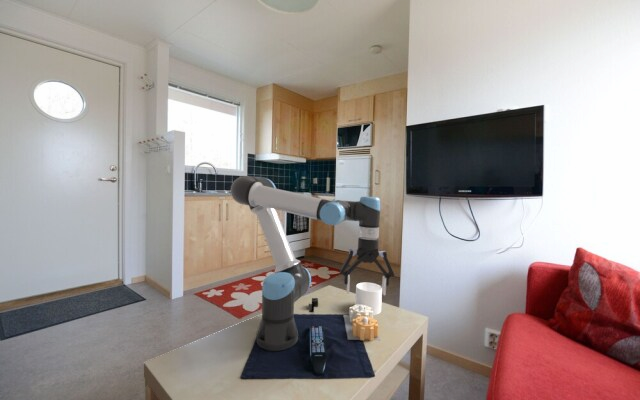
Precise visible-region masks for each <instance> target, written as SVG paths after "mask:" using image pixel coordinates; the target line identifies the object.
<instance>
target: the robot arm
mask: <svg viewBox="0 0 640 400" xmlns="http://www.w3.org/2000/svg"><path fill="white" fill-rule="evenodd" d="M230 195H231V197H232V199H233V200H234V201H235V202H236V203H237V204H240V205H243V206H244V205H245V206H248V207H249V210H250V212H251V213H253V214H255V215H256V218H257V220H258V223H259V225H260V228H261V231H262V232H263V235H264V239H265V241H266V243H267V244H266V245H267V246H268V249H269V251H270V255H271V257H272V259H273V262H274V264H275V269H274V271H273V272H274V273H271V274H269V275H267V276H266V277H265V278H264V279H263V281H262V287H261V297H262V298H261V302H262V303H261V321H260V324H259V327H258V329H257V333H256V343H257V345H258V346H259V347H260V348H261V349H264V350H265V351H271V352H279V351H285V350H287V349H290V348H292V347H293V346H295V345H296V344H297V342H298V341H299V340H298V339H299V332H298V327H297V324H296V322H295V317H294V315H295V312H294V311H295V303H296V302H297V301H298V300H299V299H300V298H301V297H302V296H304V295H305V294H306V293H307V291H309V288H310V287H311V283H312V276H311V274H310V271H309V270H308V269H307V268H306V267H304V265H302V262H301V260H299V259H297V258H296V256H295V254H294V252H293V249H292V247H291V245H290V242H289V239H288V237H287V234H286V231H285V229H284V226H283V224H282V221H281V218H280V216H279V214H278V211H281V212H285V213H289V214H293V215H296V216H302V217H305V218H309V219H313V220H316V221H320V222H323V223H324V224H326V225H328V226H337V225H339V224H341V223H342V222H345V221H350V222H351V221H352V222H358V224H359V225H358V238H357V239H358V240H357V242H358V243H357V249H356V250H353V249H352V248H350V249H349V251H348V255H347V256H346V259H345V261H344V262H343V264H342V266H341V268H340V269H339V274H340V275H343V276H344V279H343V282H344V285H346V294H347V295H349V294H350V284H351V277H350V276H351V275H350V274H351V273H352V272H353V271H354V270H355V269H356V268H357V267H358V266H359V264H361V263H363V264H364V263H365V264H366V263H369V264H372V263H375V265H376V266H377V268H379V269H380V271H381V272H382V273H383V276H382V281H381V287H382V296H386V291H387V287H389V284H390V278H391V277H394V276H395V273H394V271H393V268H392V266H391V263H390V262H389V260H388V256H387V255H388V254H387V252H386V251H385V250H384V249H383V250H382V251H380V250H379V241H380V240H379V237H380V236H379V235H380V221H381V220H380V219H381V199H380V198H379V197H376V196H361V197H360V199H359V201H358V200H356V201H352V200H341V199H336V200H332V199H331V200H330V199H324V198H320V197H316V196H315V197H314V196H310V195H305V194H302V193H296V192H292V191H288V190H283V189H279V188H277V187H276V185H275V184H274V182H273V181H272V180H271V179H269V178H267V177H263V176H251V175H243V176H239V177H237V178H236V179H235V180H234V181H233V182H232V184H231V186H230ZM355 255H357V258H356V259H355V260H354V261H353V262H352V263H351V265H349V264H350V262H351V261H352V259H353V257H355ZM379 256H380V257H381V258H382V260H383V262H384V264H385V267H386V268H387V271H388V272H387V271H386V269H385V268H384V266H382V264H381V263H380V262H379V260H378V259H377V258H378V257H379ZM348 266H349V267H348Z"/></svg>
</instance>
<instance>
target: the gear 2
mask: <svg viewBox="0 0 640 400" xmlns="http://www.w3.org/2000/svg"><path fill="white" fill-rule="evenodd" d="M363 317H367V316H360V317H357V318H356V319H353V320H352V332H353V336H354V337H357V336H358V337H360V340H359V341H365V340H364V339H369V340H368V341H371V342H372V341H375V340H374V337H377V338H378V335H379V331H380V330H379V323H378V320H377V319H375V318H373V319H372V318H370V317H367V318H368V323H363Z"/></svg>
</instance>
